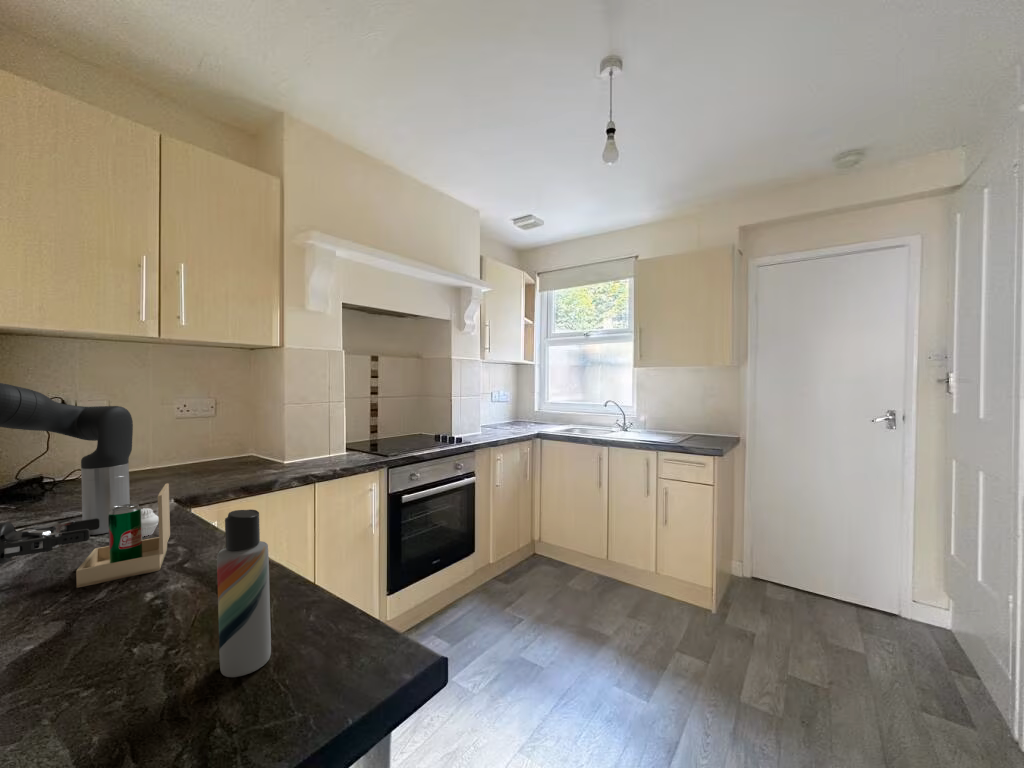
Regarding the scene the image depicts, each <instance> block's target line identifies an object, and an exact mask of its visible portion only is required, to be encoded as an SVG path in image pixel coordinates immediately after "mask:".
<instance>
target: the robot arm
mask: <svg viewBox="0 0 1024 768" xmlns="http://www.w3.org/2000/svg"><path fill="white" fill-rule="evenodd" d="M0 428H5V429H6V428H7V429H14V430H23V431H34V432H35V431H39V432H51V433H54V434H55V433H56V434H60V435H63V436H68V437H72V438H74V439H79V440H84V441H89V442H90V441H96V442H97V443H96V448H95V450H94V451H92V452H91V453H90V454H89V453H88V454H87V455H84V456H83V457H82V458H81V460H80V472H81V473H80V475H81V478H80V479H81V510H82V511H81V513H82V515H81V516H82V520H77V521H75V520H73V518H67V519H64V520H56V521H55V520H54V521H50V522H49V521H48V522H44V523H34V524H32V525H30V526H27V527H26V529H25V530H20V531H19V530H18V531H17V530H16V529H15V525H14V524H13V523H12V522H9V521H4V522H0V565H4V564H7V563H8V562H10V560H11V559H12V558H15V557H20V556H27V555H33V554H39V553H45V552H46V553H47V552H51V551H52V550H53V549H57V548H58V547H59V548H60V547H61V546H63V545H69V544H75V543H82V542H87V541H89V539H90V537H91V535H93V536H94V535H101V534H109V523H108V514H109V513H110V511H111V508H113V507H116V506H120V505H125V504H131V503H130V501H131V499H130V498H131V497H130V466H129V464H130V463H129V459H130V456H131V453H132V449H133V433H134V424H133V417H132V414H131V412H130V411H129V410H128V409H127V408H126V407H123V406H119V405H107V406H106V405H105V406H103V405H102V406H101V405H100V406H96V405H95V406H83V405H82V406H80V405H71V404H66V403H62V402H61V403H60V402H57V401H55V400H53V399H51V398H50V397H48V396H47V395H45V394H43V393H42V392H39V391H36V390H33V389H30V388H26V387H21V386H16V385H12V384H7V383H3V382H0ZM62 527H63V528H64V529H61V528H62Z"/></svg>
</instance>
